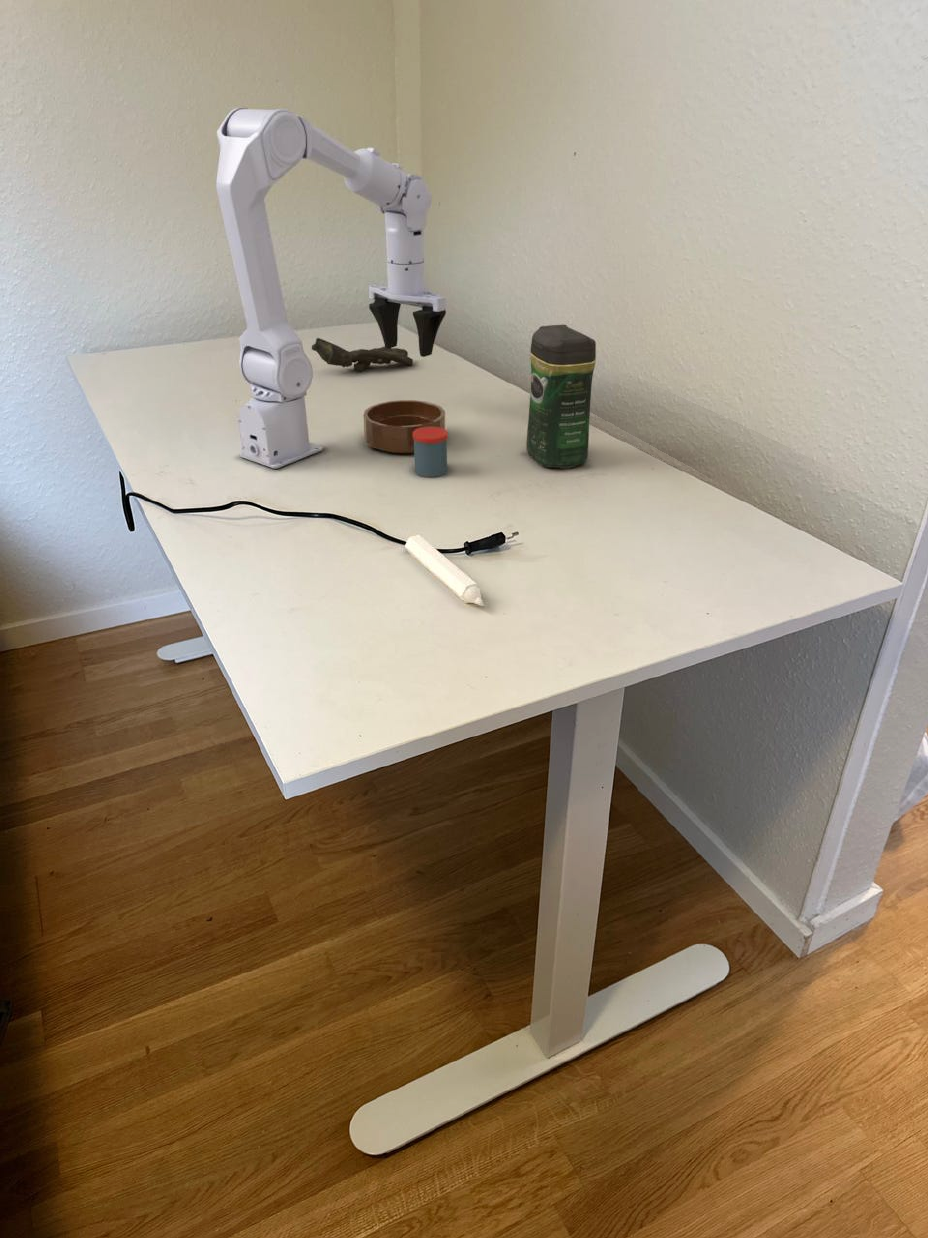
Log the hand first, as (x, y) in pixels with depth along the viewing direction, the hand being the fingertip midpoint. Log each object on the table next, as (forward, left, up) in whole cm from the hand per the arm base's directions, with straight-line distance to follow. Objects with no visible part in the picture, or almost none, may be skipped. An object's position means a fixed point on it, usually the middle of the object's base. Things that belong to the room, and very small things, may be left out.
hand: (408, 351), depth 138 cm
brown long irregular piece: (+12, +22, -10) cm, 27 cm away
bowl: (-11, -9, -10) cm, 17 cm away
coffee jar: (-3, -31, -10) cm, 33 cm away
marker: (-41, -41, -10) cm, 59 cm away
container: (-18, -19, -10) cm, 28 cm away
